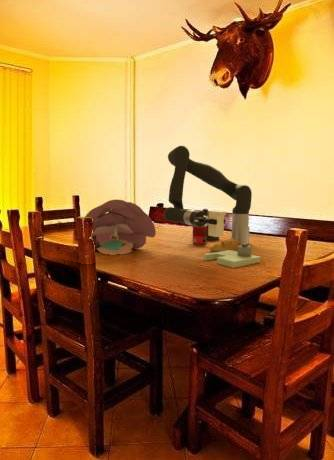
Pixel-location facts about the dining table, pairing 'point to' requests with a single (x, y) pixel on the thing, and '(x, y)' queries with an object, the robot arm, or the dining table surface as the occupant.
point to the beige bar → (219, 227)
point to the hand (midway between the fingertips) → (220, 221)
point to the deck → (234, 257)
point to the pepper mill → (207, 229)
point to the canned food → (200, 235)
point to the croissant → (226, 245)
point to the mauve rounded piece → (120, 227)
